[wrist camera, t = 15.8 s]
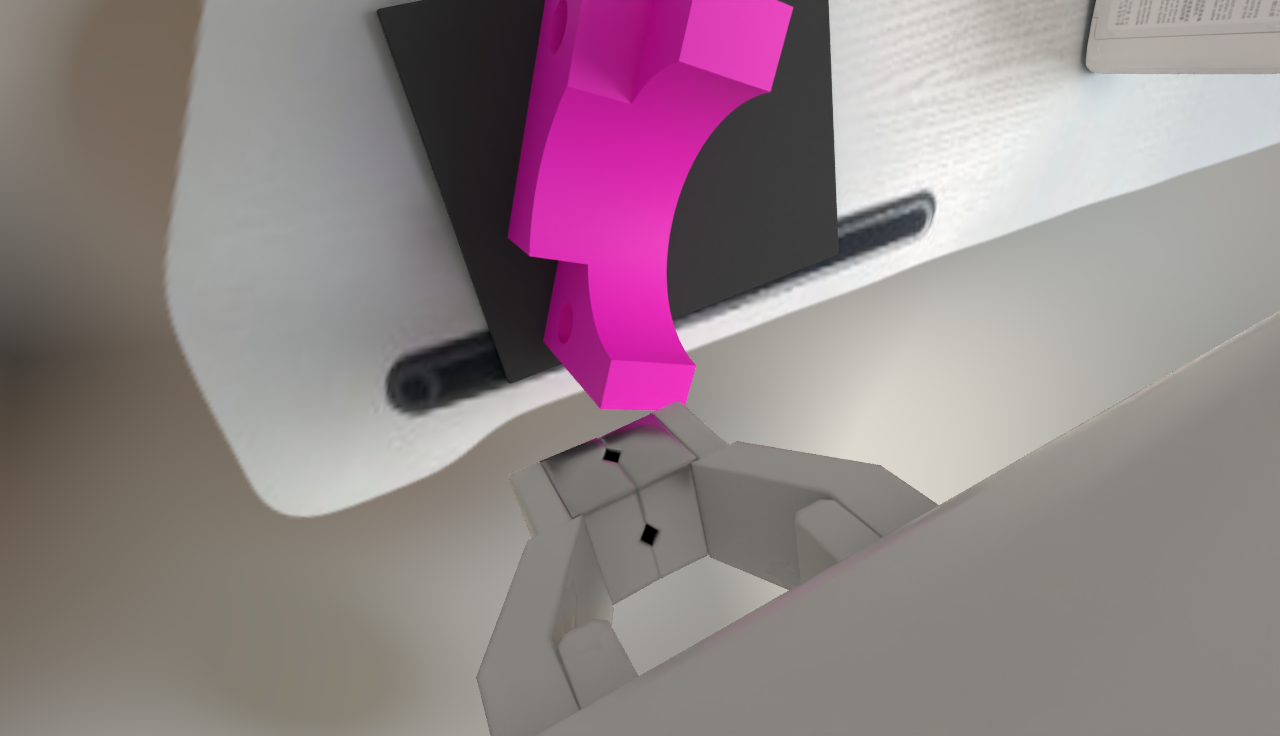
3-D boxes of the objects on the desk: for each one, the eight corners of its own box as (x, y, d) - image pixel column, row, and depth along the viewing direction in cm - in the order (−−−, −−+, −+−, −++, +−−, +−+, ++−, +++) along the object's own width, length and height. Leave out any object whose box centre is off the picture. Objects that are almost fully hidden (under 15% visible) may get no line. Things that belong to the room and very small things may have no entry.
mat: (507, 380, 30) (509, 384, 30) (376, 10, 23) (377, 9, 22) (833, 252, 36) (838, 254, 36) (818, -79, 28) (825, -81, 28)
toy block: (549, -27, 24) (627, -65, 18) (685, 24, 27) (793, 7, 21) (491, 337, 29) (537, 407, 23) (613, 346, 32) (683, 411, 26)
